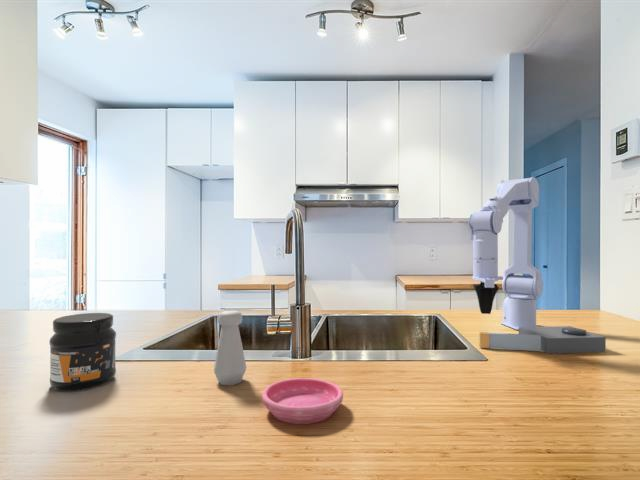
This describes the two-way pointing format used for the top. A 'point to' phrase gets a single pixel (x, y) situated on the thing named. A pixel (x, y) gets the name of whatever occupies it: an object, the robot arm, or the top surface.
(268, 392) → the pink shallow bowl
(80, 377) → the supplement container
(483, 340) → the side door
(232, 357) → the salt shaker
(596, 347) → the grey flat block
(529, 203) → the robot arm
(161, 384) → the top surface
